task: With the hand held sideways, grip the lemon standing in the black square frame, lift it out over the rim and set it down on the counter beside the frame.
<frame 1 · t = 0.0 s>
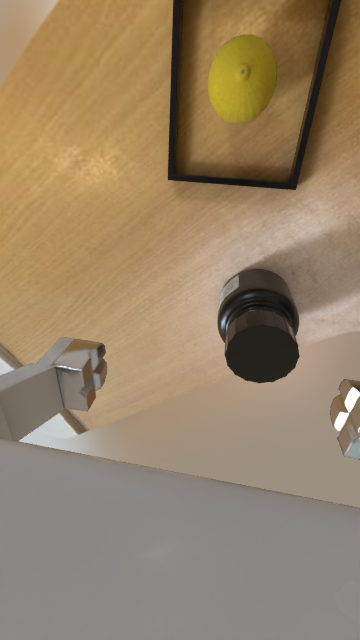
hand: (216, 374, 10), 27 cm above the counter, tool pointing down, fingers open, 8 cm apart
black square frame: (241, 95, 27), on the counter
ink bottle: (254, 299, 38), on the counter
lemon: (240, 91, 27), resting in black square frame
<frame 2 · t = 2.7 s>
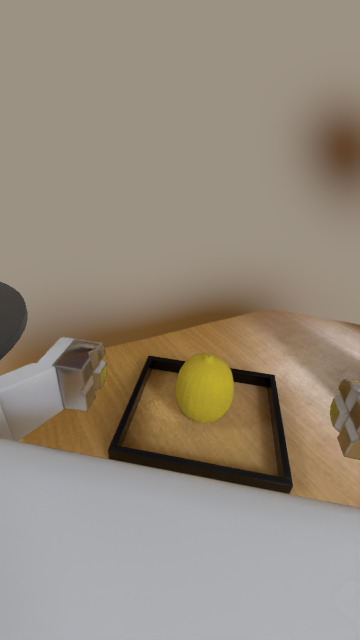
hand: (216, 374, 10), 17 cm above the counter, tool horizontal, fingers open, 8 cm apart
black square frame: (203, 416, 30), on the counter
lemon: (200, 418, 30), resting in black square frame
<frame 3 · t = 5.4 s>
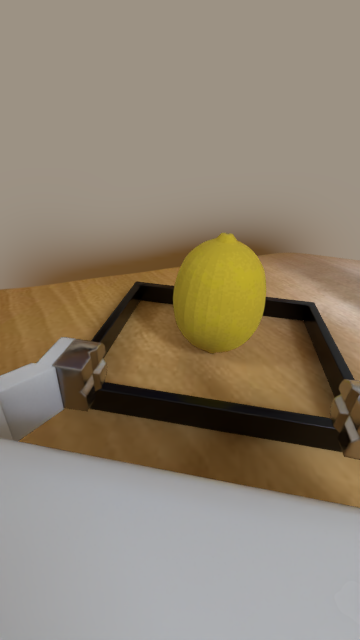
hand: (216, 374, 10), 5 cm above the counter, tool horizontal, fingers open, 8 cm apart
black square frame: (215, 350, 20), on the counter
lemon: (211, 353, 20), resting in black square frame
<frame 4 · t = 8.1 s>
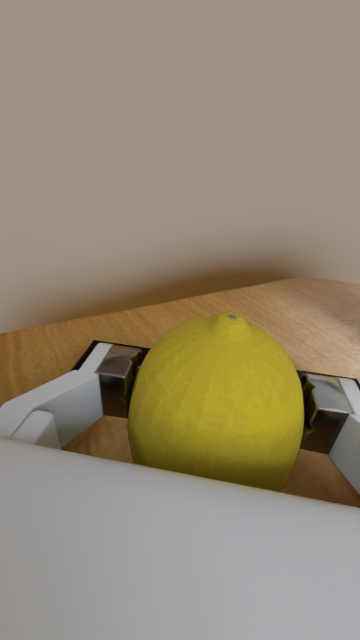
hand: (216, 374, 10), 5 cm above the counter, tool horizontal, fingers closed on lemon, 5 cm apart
black square frame: (204, 484, 12), on the counter
lemon: (198, 489, 12), resting in black square frame, touching gripper
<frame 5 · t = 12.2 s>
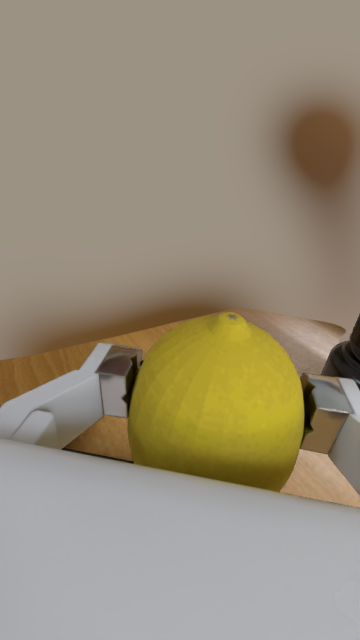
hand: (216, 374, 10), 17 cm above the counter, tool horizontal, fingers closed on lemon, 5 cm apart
ink bottle: (354, 414, 31), on the counter
lemon: (198, 489, 12), point 12 cm above the counter, touching gripper
when the fingers open (5 cm above the counter, at t = 16.4 s): lemon stays where it is, on the counter.
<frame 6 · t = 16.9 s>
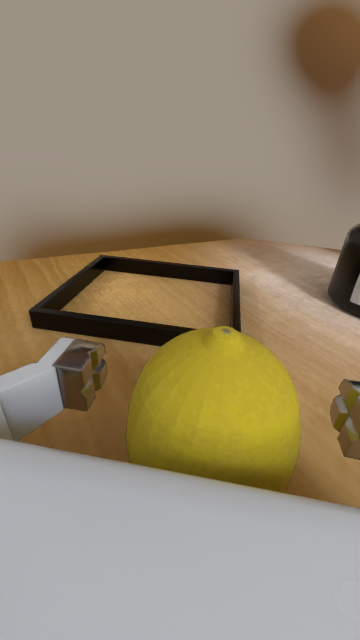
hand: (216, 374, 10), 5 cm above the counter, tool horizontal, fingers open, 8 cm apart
black square frame: (153, 301, 26), on the counter
lemon: (198, 497, 12), on the counter
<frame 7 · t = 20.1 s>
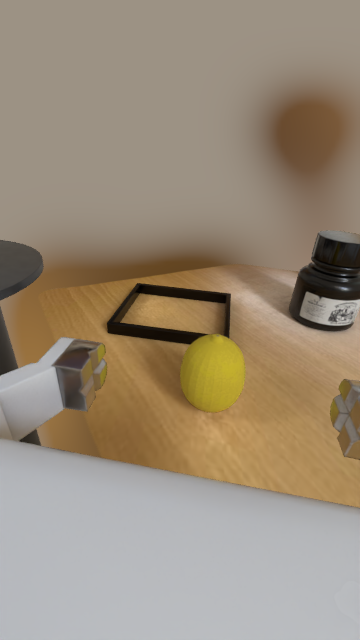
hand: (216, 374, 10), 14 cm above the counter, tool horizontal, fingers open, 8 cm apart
black square frame: (175, 315, 42), on the counter
ink bottle: (318, 318, 44), on the counter
lemon: (207, 408, 27), on the counter
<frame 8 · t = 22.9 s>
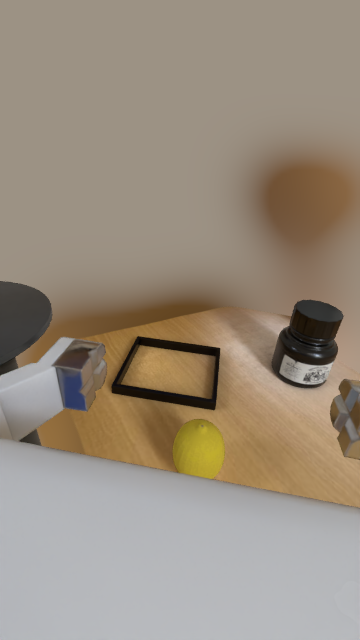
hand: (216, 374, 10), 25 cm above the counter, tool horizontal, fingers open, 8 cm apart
black square frame: (171, 372, 47), on the counter
ink bottle: (297, 372, 49), on the counter
lemon: (195, 474, 33), on the counter
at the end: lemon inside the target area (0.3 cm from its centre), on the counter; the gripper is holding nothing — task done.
